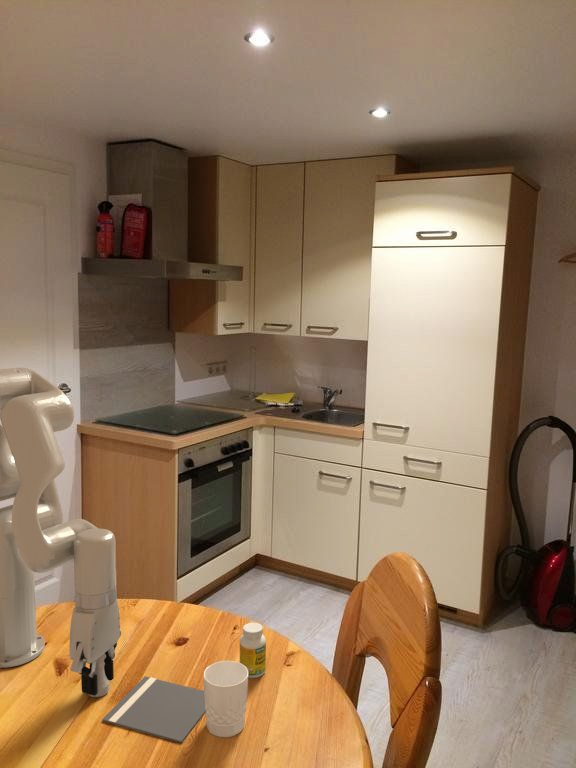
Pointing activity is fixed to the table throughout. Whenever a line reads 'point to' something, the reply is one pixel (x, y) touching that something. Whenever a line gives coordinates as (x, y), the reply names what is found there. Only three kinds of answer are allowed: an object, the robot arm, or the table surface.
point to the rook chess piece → (101, 677)
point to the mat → (159, 709)
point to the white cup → (225, 697)
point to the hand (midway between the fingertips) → (97, 684)
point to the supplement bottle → (253, 649)
